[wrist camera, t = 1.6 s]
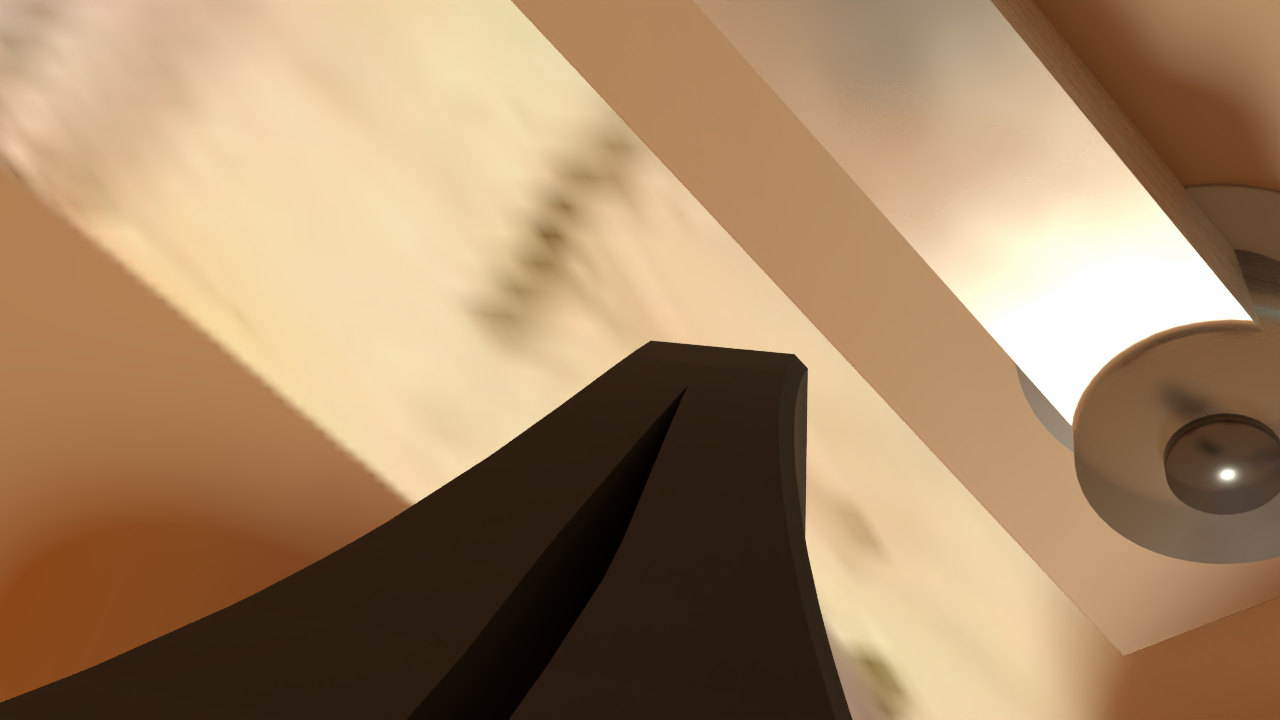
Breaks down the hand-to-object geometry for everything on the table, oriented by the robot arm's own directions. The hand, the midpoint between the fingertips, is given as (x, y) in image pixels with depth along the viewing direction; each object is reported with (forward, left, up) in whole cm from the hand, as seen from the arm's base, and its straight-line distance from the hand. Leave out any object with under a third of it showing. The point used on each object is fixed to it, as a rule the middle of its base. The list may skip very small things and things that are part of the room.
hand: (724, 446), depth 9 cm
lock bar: (-1, -2, -8) cm, 8 cm away
